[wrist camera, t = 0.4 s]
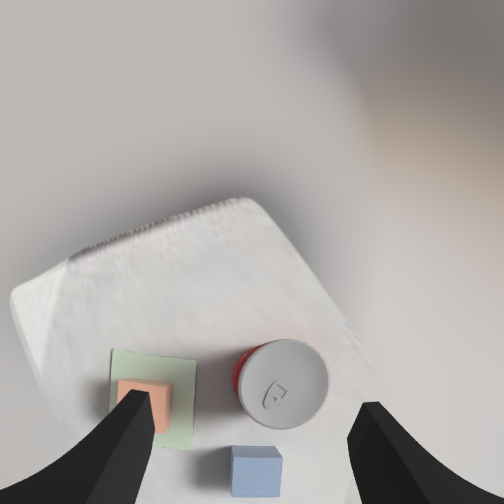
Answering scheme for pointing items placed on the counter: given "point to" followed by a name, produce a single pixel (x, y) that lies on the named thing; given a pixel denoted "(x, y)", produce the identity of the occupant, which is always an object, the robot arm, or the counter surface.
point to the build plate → (167, 372)
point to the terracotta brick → (152, 399)
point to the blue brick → (255, 471)
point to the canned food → (282, 383)
